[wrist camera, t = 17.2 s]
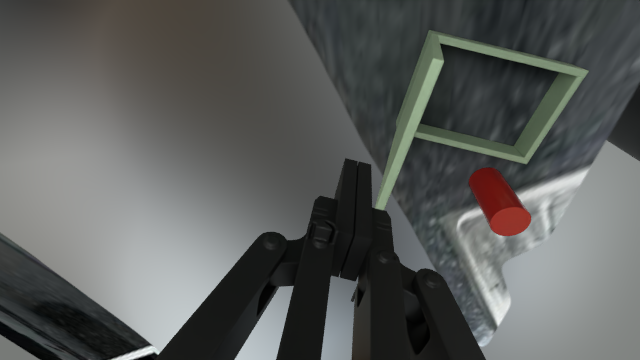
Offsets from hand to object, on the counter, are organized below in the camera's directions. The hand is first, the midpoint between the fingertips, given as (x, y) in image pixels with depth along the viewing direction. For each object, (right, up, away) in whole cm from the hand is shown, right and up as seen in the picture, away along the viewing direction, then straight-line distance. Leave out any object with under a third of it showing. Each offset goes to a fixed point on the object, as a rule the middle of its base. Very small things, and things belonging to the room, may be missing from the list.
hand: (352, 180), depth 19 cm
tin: (+26, 0, +34) cm, 43 cm away
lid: (+8, +7, +14) cm, 18 cm away
